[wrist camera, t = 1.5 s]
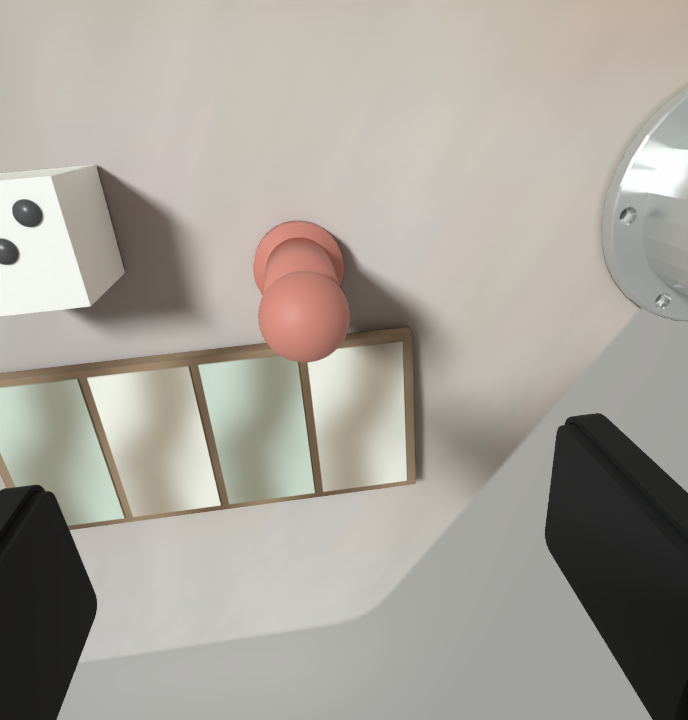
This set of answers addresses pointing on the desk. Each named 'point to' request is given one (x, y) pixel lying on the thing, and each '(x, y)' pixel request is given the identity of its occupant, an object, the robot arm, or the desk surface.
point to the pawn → (301, 291)
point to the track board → (211, 429)
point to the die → (55, 240)
